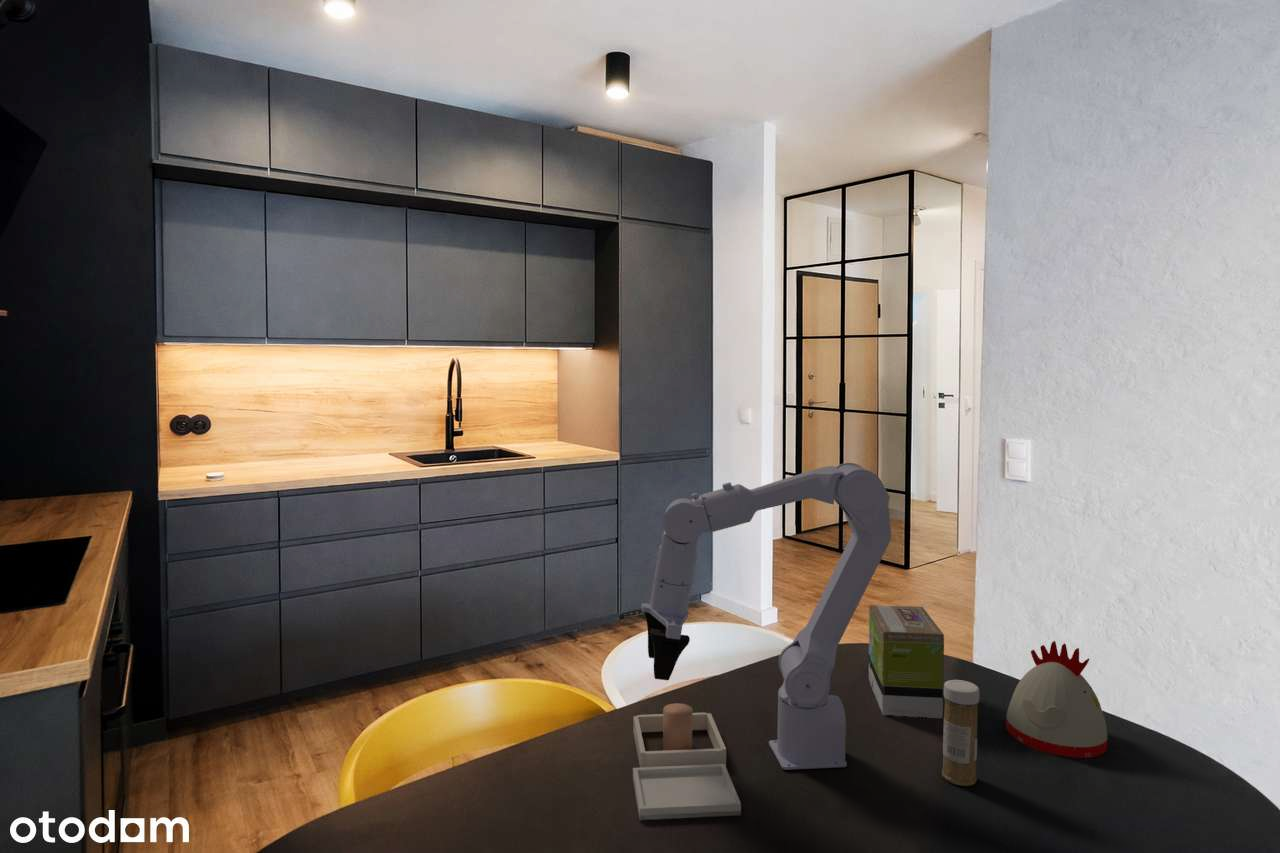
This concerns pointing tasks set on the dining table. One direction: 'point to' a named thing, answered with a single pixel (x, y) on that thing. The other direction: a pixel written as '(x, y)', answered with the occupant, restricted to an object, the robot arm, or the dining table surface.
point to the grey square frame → (678, 756)
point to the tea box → (906, 661)
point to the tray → (685, 792)
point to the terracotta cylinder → (677, 727)
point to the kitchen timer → (1057, 707)
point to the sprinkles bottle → (960, 732)
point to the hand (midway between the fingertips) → (658, 667)
